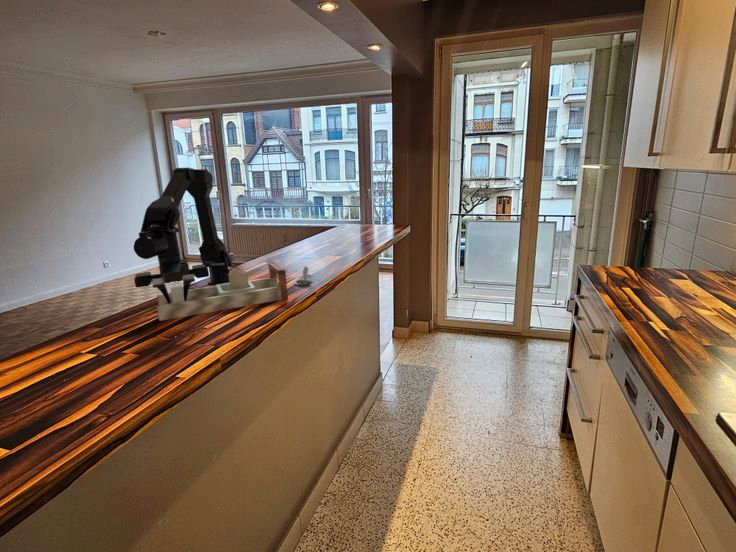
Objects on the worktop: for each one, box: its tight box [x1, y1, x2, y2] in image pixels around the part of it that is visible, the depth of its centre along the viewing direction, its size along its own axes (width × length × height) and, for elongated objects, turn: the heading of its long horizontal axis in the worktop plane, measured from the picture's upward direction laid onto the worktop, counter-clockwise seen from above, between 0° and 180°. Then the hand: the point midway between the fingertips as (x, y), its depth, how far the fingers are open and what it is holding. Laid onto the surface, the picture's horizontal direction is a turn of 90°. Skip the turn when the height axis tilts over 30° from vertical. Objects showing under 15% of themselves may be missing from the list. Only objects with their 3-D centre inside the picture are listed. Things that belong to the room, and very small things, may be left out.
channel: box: [156, 261, 289, 322], centre depth 122 cm, size 36×13×9 cm, turn 116°
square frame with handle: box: [169, 279, 255, 303], centre depth 121 cm, size 22×10×7 cm, turn 116°
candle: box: [228, 267, 249, 290], centre depth 124 cm, size 6×6×10 cm
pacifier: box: [293, 265, 313, 286], centre depth 141 cm, size 7×6×6 cm
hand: (177, 303), depth 117 cm, fingers open, 3 cm apart
